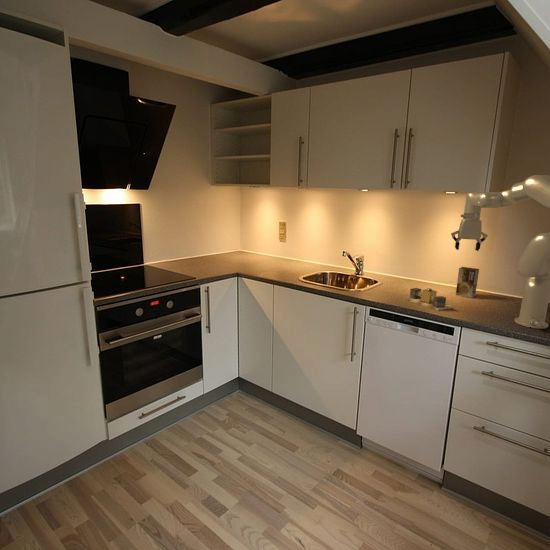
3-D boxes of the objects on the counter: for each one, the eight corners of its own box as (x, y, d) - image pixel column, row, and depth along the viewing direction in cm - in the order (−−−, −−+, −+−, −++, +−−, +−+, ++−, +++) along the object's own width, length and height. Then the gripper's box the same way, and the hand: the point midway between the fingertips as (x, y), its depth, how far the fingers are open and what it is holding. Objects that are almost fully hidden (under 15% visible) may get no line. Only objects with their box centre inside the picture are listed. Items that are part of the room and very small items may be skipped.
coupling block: (435, 302, 192) (437, 289, 190) (428, 303, 190) (430, 290, 188) (427, 299, 196) (429, 287, 195) (421, 300, 194) (422, 288, 192)
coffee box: (475, 296, 210) (479, 268, 207) (471, 298, 206) (476, 270, 203) (459, 293, 217) (462, 266, 213) (455, 294, 212) (458, 267, 209)
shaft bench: (452, 307, 187) (453, 296, 185) (437, 310, 182) (439, 299, 180) (418, 297, 205) (420, 287, 203) (404, 299, 200) (406, 289, 198)
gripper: (455, 216, 187) (451, 250, 190) (492, 218, 183) (487, 252, 187) (451, 216, 194) (447, 248, 198) (487, 217, 191) (482, 249, 194)
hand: (466, 250), depth 192 cm, fingers open, 9 cm apart
